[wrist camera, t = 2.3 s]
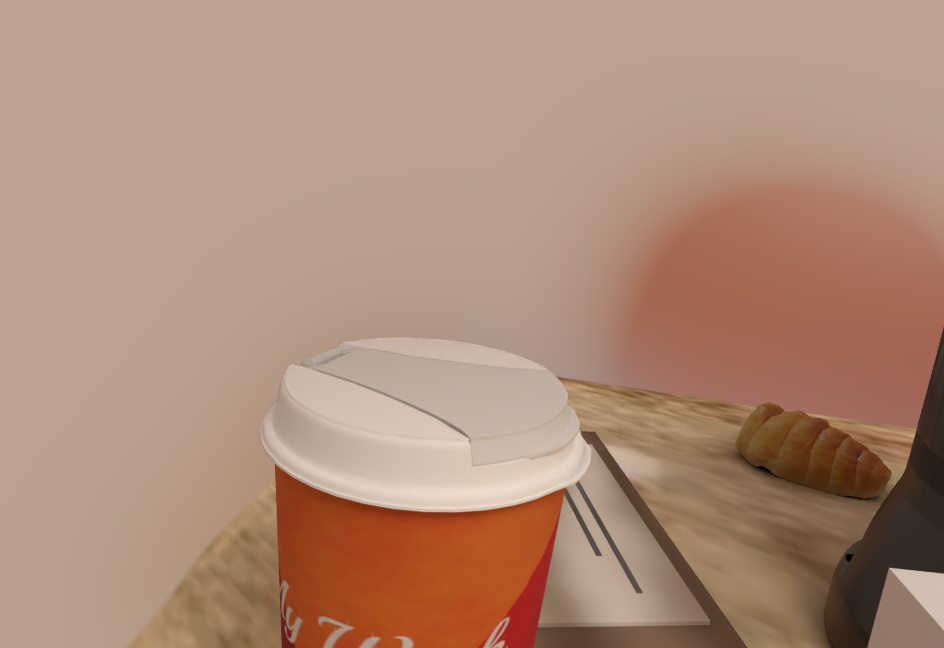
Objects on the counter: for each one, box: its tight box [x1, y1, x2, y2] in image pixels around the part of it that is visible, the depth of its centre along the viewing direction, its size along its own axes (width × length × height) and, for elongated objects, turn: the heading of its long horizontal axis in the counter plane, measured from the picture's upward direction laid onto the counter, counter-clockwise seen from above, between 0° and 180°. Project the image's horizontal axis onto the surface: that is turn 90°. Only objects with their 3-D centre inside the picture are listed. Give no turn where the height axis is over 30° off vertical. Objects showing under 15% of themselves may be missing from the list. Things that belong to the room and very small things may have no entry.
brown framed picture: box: [534, 431, 747, 648], centre depth 41 cm, size 14×22×2 cm, turn 8°
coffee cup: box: [260, 337, 591, 648], centre depth 21 cm, size 8×8×15 cm
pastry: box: [736, 402, 891, 499], centre depth 52 cm, size 9×7×4 cm
